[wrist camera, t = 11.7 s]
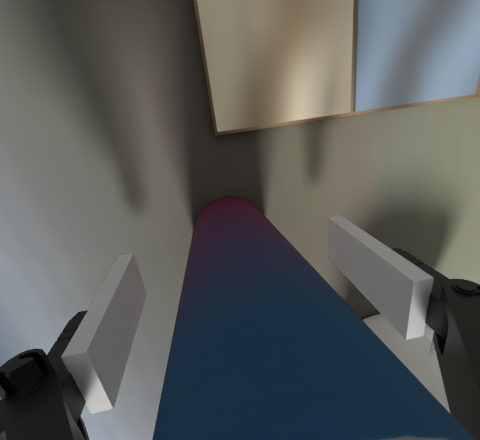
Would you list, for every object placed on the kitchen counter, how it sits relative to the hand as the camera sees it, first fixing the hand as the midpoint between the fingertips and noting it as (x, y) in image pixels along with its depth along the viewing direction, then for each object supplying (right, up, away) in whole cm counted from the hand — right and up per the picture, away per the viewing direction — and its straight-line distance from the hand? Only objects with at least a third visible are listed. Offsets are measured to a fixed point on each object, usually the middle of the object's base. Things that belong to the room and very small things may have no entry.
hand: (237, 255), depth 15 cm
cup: (-1, +1, +4) cm, 4 cm away
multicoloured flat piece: (+10, +14, 0) cm, 17 cm away
